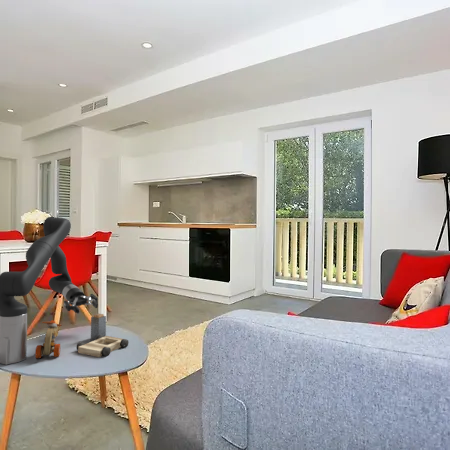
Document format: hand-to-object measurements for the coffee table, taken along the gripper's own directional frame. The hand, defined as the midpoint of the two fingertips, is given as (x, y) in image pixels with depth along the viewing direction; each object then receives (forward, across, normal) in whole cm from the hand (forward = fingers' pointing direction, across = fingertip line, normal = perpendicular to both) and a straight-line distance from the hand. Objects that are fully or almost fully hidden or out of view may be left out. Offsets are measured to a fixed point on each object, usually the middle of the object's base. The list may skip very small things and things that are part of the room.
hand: (87, 308), depth 161 cm
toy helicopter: (+11, -20, +8) cm, 24 cm away
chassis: (+21, -3, +7) cm, 23 cm away
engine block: (+8, +1, +12) cm, 14 cm away
